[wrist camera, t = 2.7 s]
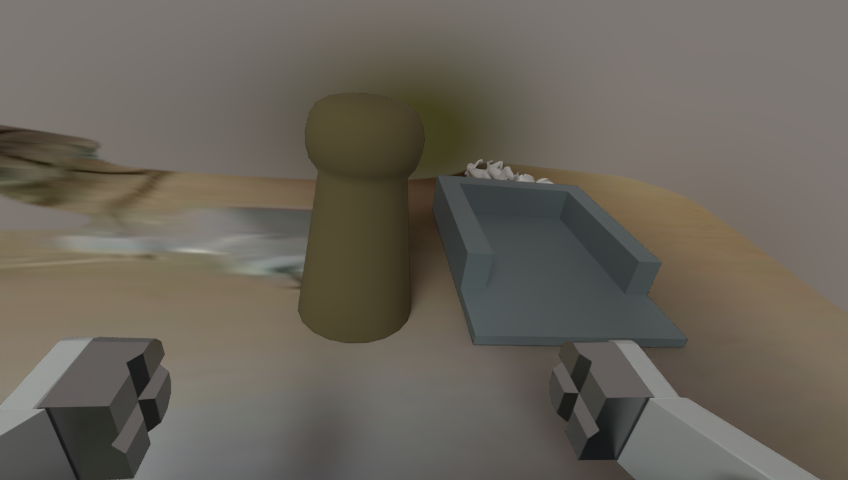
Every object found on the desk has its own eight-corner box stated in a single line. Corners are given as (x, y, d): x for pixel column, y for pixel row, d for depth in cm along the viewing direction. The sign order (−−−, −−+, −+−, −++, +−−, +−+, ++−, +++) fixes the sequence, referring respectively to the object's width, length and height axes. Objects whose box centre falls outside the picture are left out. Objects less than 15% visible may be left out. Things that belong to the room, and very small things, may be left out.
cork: (374, 264, 27) (389, 82, 22) (432, 319, 23) (468, 113, 18) (280, 290, 24) (271, 81, 18) (329, 359, 20) (335, 119, 14)
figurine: (451, 178, 44) (521, 176, 47) (477, 208, 38) (558, 205, 40) (454, 149, 43) (526, 148, 45) (482, 176, 37) (565, 173, 39)
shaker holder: (473, 344, 22) (484, 296, 20) (432, 208, 36) (437, 174, 34) (683, 347, 24) (707, 304, 22) (567, 217, 38) (577, 185, 36)
